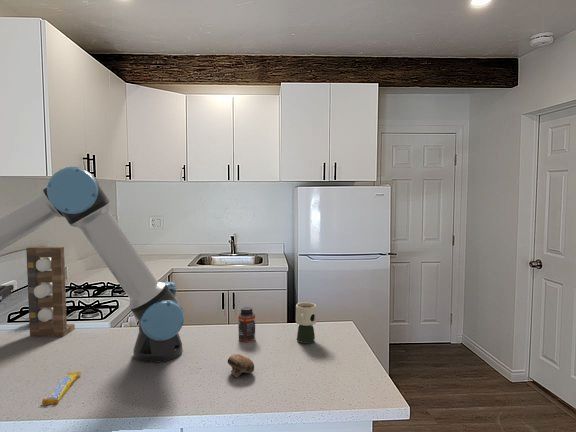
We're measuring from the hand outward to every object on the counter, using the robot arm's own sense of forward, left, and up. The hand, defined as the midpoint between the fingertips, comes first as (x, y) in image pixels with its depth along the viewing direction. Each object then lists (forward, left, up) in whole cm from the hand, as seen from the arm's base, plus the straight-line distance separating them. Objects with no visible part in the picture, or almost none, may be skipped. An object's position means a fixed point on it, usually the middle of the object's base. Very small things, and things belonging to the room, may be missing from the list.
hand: (14, 284), depth 135 cm
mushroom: (-51, -56, -23) cm, 79 cm away
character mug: (-39, -86, -22) cm, 97 cm away
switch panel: (+15, -10, -22) cm, 28 cm away
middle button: (+11, -8, -7) cm, 16 cm away
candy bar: (-35, -11, -23) cm, 44 cm away
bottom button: (+13, -9, -16) cm, 23 cm away
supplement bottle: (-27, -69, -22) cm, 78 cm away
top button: (+13, -9, +2) cm, 16 cm away
